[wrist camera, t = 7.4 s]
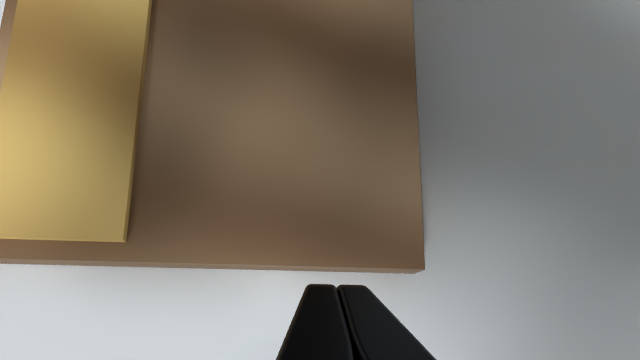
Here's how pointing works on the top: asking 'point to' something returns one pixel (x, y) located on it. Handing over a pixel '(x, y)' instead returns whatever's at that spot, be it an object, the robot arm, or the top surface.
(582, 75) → the top surface
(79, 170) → the tuner board
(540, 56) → the top surface
